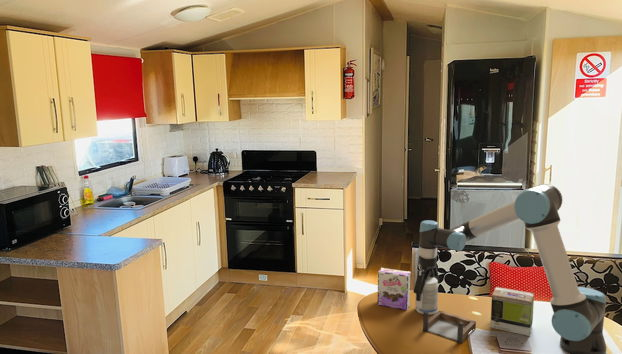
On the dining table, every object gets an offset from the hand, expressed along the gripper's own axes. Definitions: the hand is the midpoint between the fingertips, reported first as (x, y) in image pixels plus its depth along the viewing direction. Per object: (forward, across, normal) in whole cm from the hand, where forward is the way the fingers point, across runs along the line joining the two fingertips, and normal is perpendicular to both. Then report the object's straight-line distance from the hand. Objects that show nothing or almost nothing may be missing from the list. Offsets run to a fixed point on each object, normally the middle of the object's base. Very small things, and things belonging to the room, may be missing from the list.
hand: (426, 301), depth 209 cm
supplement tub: (+4, 0, 0) cm, 5 cm away
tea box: (+4, -8, +34) cm, 35 cm away
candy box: (+5, +4, -14) cm, 15 cm away
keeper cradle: (+4, +10, +15) cm, 19 cm away
